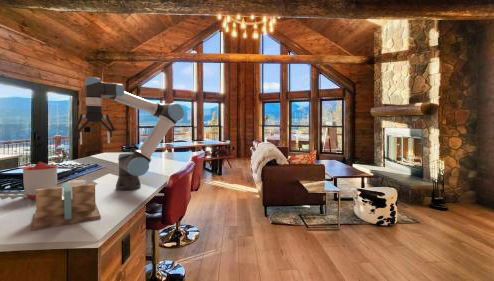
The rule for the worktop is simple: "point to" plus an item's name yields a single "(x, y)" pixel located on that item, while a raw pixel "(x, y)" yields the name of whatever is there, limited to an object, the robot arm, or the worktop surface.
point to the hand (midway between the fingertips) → (95, 143)
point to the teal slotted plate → (67, 201)
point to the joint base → (62, 219)
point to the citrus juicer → (39, 178)
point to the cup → (73, 183)
